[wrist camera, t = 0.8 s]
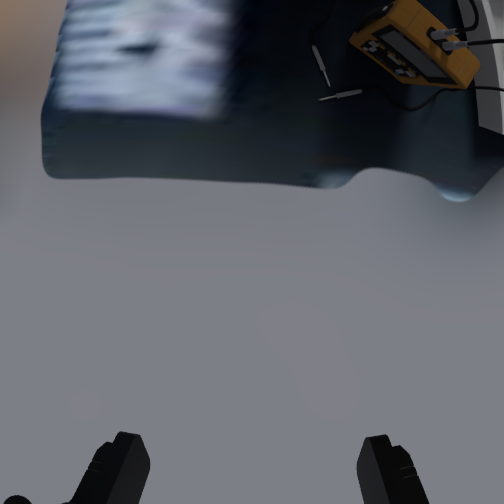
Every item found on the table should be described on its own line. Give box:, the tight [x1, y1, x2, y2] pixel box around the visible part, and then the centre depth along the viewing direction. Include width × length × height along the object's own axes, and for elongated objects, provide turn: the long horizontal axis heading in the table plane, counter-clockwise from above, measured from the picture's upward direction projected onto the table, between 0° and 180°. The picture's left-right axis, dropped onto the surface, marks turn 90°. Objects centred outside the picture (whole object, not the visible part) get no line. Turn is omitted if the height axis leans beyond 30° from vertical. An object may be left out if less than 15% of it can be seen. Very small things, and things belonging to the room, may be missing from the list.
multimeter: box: [309, 0, 504, 110], centre depth 18 cm, size 15×10×20 cm
